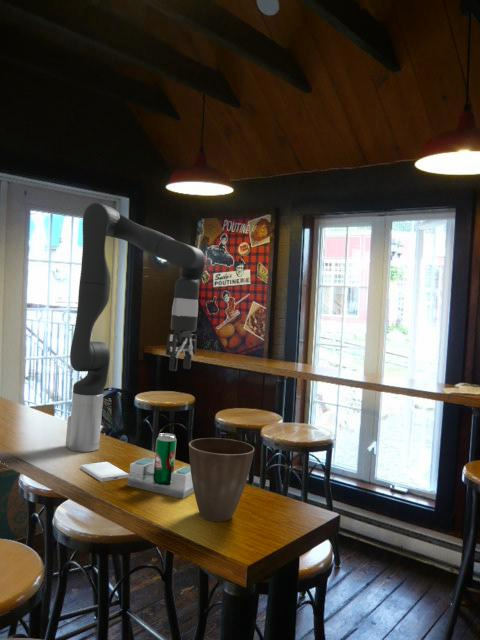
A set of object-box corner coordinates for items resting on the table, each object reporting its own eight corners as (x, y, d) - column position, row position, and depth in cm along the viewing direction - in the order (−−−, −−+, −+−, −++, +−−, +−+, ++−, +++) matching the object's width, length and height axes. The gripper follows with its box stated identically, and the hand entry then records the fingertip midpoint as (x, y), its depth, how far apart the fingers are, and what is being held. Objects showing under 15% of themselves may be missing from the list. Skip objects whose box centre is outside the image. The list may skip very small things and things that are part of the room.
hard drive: (80, 464, 150) (101, 477, 140) (107, 461, 155) (129, 473, 146) (80, 470, 150) (101, 483, 140) (107, 467, 155) (129, 479, 146)
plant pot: (169, 512, 124) (175, 442, 124) (215, 499, 135) (220, 434, 135) (216, 534, 114) (223, 458, 114) (261, 518, 125) (267, 449, 125)
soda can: (150, 479, 141) (154, 432, 141) (169, 478, 143) (173, 432, 143) (155, 485, 137) (159, 437, 136) (175, 484, 139) (179, 437, 138)
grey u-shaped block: (127, 485, 139) (129, 462, 139) (144, 477, 147) (146, 456, 147) (183, 498, 133) (185, 475, 133) (197, 489, 141) (199, 467, 141)
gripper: (184, 314, 168) (180, 366, 168) (161, 312, 155) (156, 369, 155) (206, 316, 165) (202, 369, 165) (184, 315, 152) (179, 373, 152)
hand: (179, 369), depth 160 cm, fingers open, 8 cm apart
